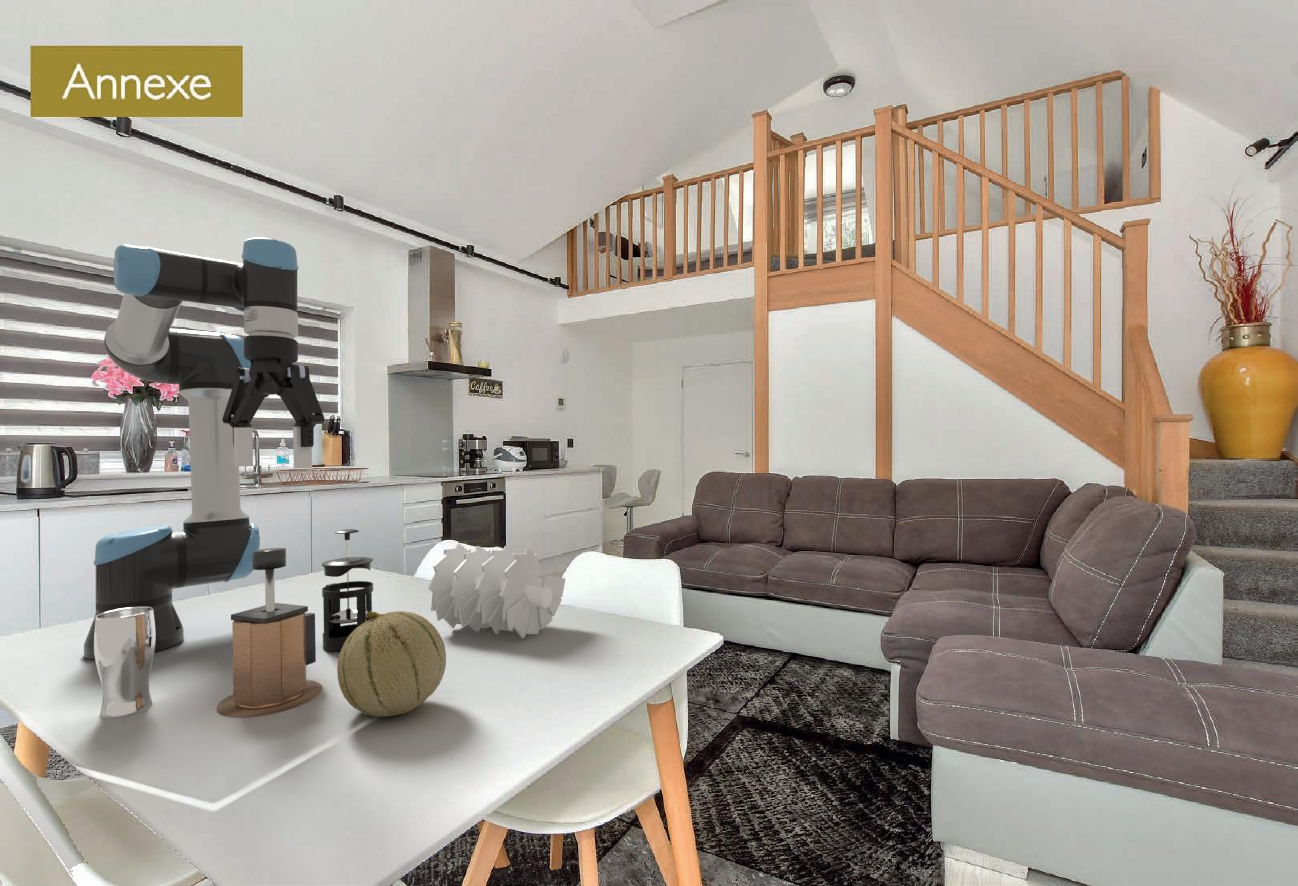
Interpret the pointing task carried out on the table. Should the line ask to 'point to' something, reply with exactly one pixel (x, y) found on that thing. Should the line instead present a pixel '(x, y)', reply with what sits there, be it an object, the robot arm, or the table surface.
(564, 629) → the table surface
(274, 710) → the coaster
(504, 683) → the table surface
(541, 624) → the spiral staircase
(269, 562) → the plunger
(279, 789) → the table surface
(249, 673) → the carafe
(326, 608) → the french press
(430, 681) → the cantaloupe
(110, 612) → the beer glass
